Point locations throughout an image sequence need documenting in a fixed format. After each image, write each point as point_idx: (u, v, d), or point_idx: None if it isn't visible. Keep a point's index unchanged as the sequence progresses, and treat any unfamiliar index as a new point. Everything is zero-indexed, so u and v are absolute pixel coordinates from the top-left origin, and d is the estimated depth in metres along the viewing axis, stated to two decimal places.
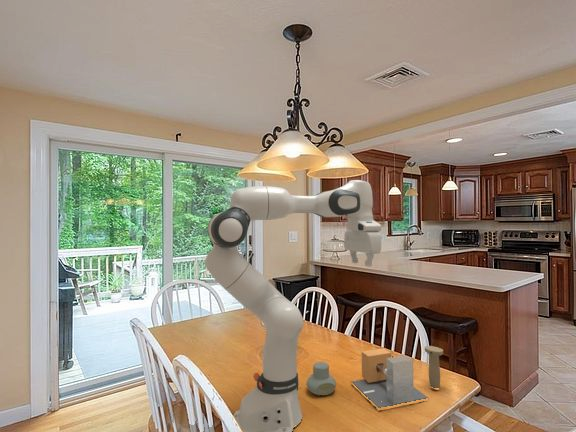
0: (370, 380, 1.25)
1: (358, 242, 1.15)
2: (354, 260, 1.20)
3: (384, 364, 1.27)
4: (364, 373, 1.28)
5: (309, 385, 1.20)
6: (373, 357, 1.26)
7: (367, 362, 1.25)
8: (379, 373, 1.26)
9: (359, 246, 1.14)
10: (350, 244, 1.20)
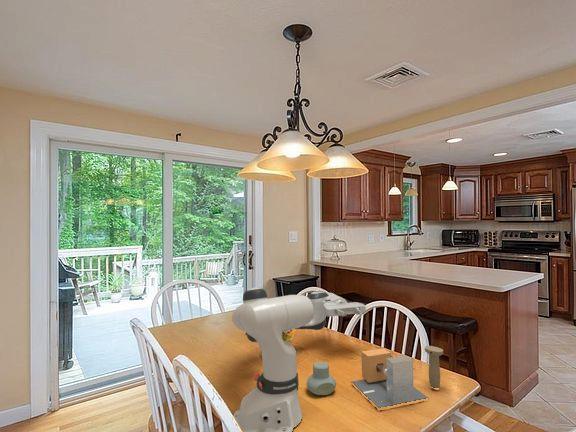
0: (370, 380, 1.25)
1: None
2: (356, 313, 1.49)
3: (384, 364, 1.27)
4: (364, 373, 1.28)
5: (309, 385, 1.20)
6: (373, 357, 1.26)
7: (367, 362, 1.25)
8: (379, 373, 1.26)
9: None
10: None
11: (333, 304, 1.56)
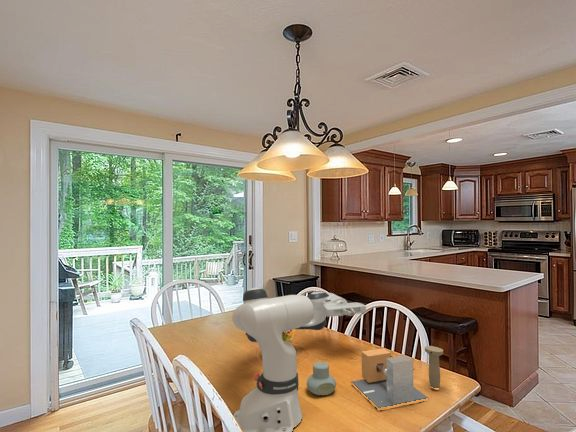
0: (370, 380, 1.25)
1: None
2: None
3: (384, 364, 1.27)
4: (364, 373, 1.28)
5: (309, 385, 1.20)
6: (373, 357, 1.26)
7: (367, 362, 1.25)
8: (379, 373, 1.26)
9: None
10: None
11: (333, 304, 1.56)
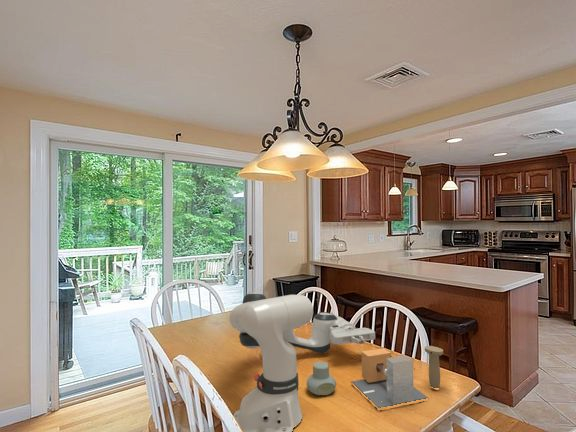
0: (370, 380, 1.25)
1: None
2: None
3: (384, 364, 1.27)
4: (364, 373, 1.28)
5: (309, 385, 1.20)
6: (373, 357, 1.26)
7: (367, 362, 1.25)
8: (379, 373, 1.26)
9: None
10: None
11: (341, 330, 1.49)
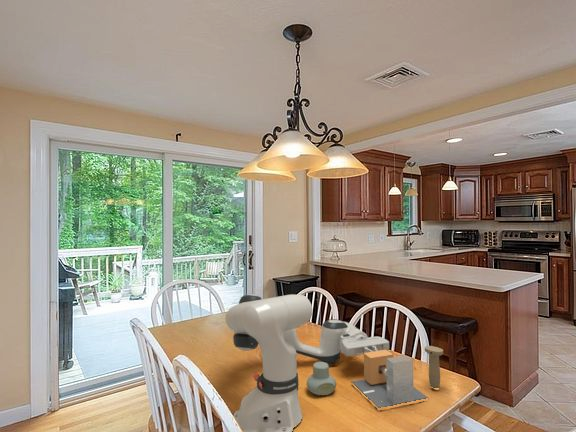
0: (372, 382, 1.23)
1: None
2: None
3: None
4: (366, 375, 1.26)
5: (309, 385, 1.20)
6: (375, 358, 1.24)
7: (369, 363, 1.24)
8: (381, 375, 1.25)
9: None
10: None
11: (353, 340, 1.38)
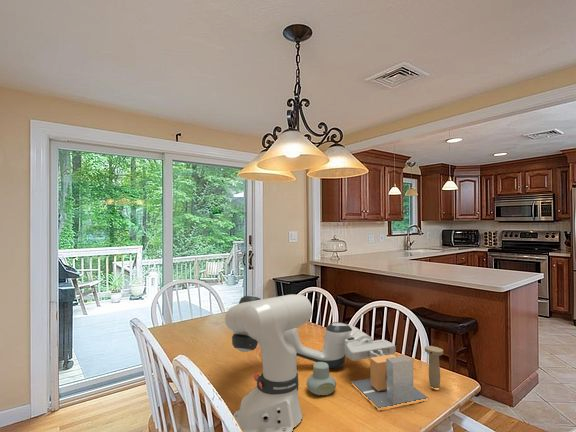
0: (379, 388, 1.19)
1: None
2: None
3: None
4: (373, 380, 1.22)
5: (309, 385, 1.20)
6: (382, 363, 1.19)
7: (376, 369, 1.19)
8: None
9: None
10: None
11: (358, 344, 1.34)
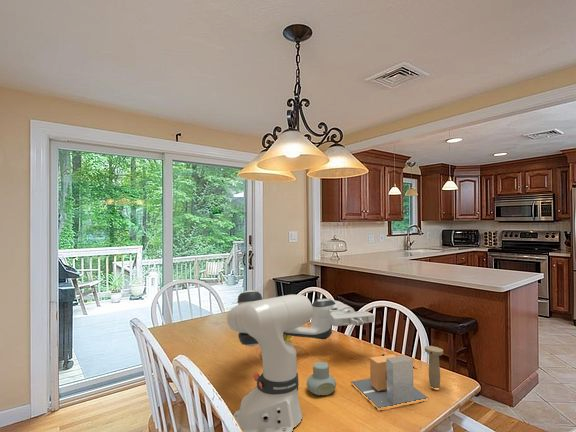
0: (379, 388, 1.19)
1: None
2: None
3: None
4: (373, 380, 1.22)
5: (309, 385, 1.20)
6: (382, 363, 1.19)
7: (376, 369, 1.19)
8: None
9: None
10: None
11: (340, 313, 1.49)
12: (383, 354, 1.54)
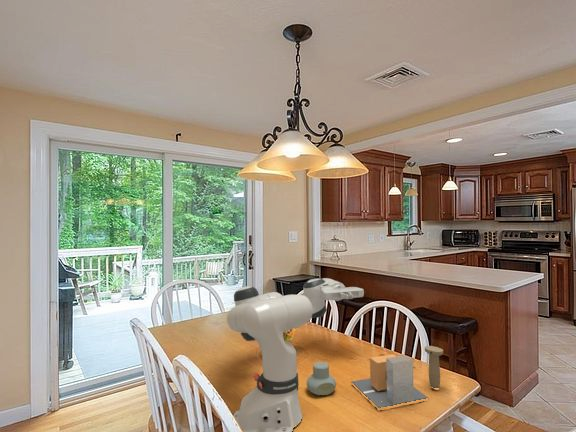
0: (379, 388, 1.19)
1: None
2: None
3: None
4: (373, 380, 1.22)
5: (309, 385, 1.20)
6: (382, 363, 1.19)
7: (376, 369, 1.19)
8: None
9: None
10: None
11: (331, 288, 1.54)
12: (382, 354, 1.54)
